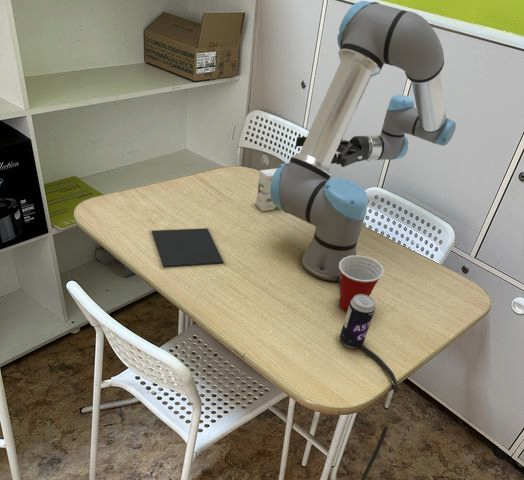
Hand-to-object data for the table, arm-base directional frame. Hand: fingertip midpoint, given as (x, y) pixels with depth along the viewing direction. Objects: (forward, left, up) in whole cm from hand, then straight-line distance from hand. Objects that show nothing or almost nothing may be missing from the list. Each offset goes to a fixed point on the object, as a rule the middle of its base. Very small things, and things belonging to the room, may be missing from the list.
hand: (306, 150), depth 160 cm
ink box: (-1, +10, -18) cm, 21 cm away
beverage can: (-68, +13, -18) cm, 71 cm away
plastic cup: (-55, +7, -18) cm, 58 cm away
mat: (-23, +42, -18) cm, 51 cm away
